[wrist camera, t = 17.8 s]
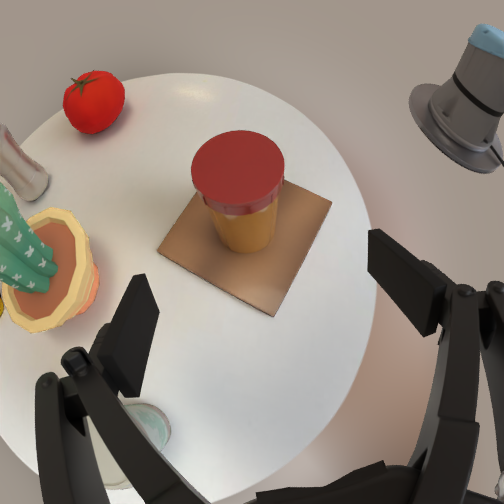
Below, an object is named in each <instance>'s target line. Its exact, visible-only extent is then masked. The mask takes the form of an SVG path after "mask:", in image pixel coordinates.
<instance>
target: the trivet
mask: <svg viewBox="0 0 504 504" xmlns="http://www.w3.org/2000/svg"><path fill="white" fill-rule="evenodd" d="M331 205H332V202H331V201H329V200H327V199H325V198H323V197H321V196H319V195H317V194H314V193H312V192H310V191H308V190H306V189H304V188H302V187H299V186H297V185H295V184H293V183H291V182H288V181H286V180H284V185H282V188H281V191H280V193H279V200H278V213H277V226H276V232H275V235H274V237H273V239H272V240H271V242H270V243H269V244H268V245H267V246H266V247H264V248H263V249H261V250H259V251H257V252H254V253H247V254H245V253H237V252H234V251H232V250H230V249H228V248H227V247H226V246H224V245H223V244H222V242H221V241H220V239H219V237H218V235H217V233H216V230H215V227H214V225H213V222H212V220H211V217H210V214H209V212H208V209H207V207H206V205H205V203H204V202H203V201H202V200H201V198H200V196H199V194H198V192H196V194H195V195H194V196H193V198H192V199H191V201H190V202H189V204H188V205H187V206H186V208H185V209H184V211H183V212H182V214H181V215H180V216H179V218H178V219H177V221H176V222H175V224H174V225H173V227H172V228H171V230H170V231H169V233H168V234H167V236H166V237H165V239H164V240H163V242H162V243H161V245H160V246H159V248H158V249H157V251H158V252H159V253H160V254H162V255H163V256H165V257H167V258H168V259H170V260H172V261H173V262H175V263H177V264H179V265H180V266H182V267H184V268H185V269H187V270H189V271H191V272H192V273H194V274H196V275H197V276H199V277H201V278H203V279H204V280H206V281H208V282H210V283H212V284H213V285H215V286H217V287H219V288H220V289H222V290H224V291H226V292H228V293H229V294H231V295H233V296H235V297H237V298H238V299H240V300H242V301H244V302H246V303H248V304H249V305H251V306H253V307H255V308H257V309H259V310H261V311H262V312H264V313H266V314H268V315H270V316H272V317H274V316H275V314H276V312H277V310H278V308H279V306H280V305H281V303H282V301H283V299H284V297H285V295H286V293H287V292H288V290H289V288H290V286H291V284H292V282H293V280H294V278H295V276H296V275H297V273H298V271H299V269H300V267H301V265H302V263H303V261H304V259H305V257H306V255H307V253H308V251H309V249H310V247H311V245H312V243H313V241H314V239H315V237H316V235H317V233H318V231H319V229H320V227H321V225H322V223H323V221H324V219H325V217H326V215H327V213H328V211H329V209H330V207H331Z"/></svg>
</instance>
